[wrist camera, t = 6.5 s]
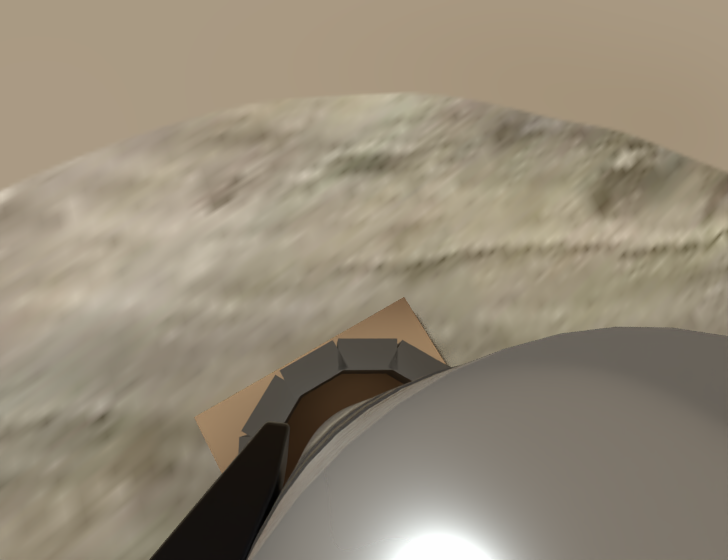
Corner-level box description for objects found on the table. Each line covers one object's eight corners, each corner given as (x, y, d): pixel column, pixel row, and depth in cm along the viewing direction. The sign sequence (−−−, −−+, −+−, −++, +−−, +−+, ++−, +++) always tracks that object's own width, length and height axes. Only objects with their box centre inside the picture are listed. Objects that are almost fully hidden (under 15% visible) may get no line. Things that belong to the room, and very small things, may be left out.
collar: (524, 502, 20) (557, 517, 17) (317, 651, 18) (316, 696, 15) (400, 302, 22) (412, 285, 19) (200, 416, 20) (180, 418, 17)
